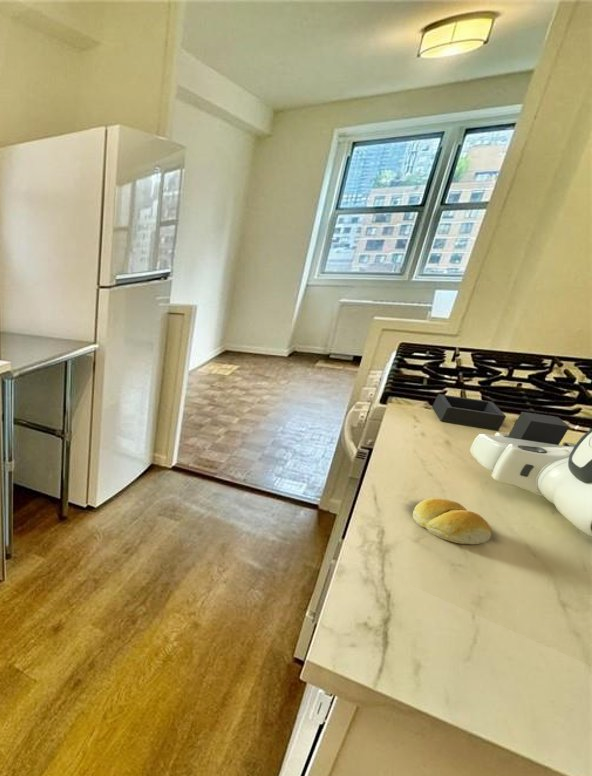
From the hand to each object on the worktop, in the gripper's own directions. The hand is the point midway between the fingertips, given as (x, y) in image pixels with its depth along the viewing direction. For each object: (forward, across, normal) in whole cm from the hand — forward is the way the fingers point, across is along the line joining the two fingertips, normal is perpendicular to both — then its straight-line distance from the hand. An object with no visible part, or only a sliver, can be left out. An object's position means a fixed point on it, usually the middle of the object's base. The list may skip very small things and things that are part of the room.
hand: (532, 441), depth 89 cm
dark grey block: (0, 0, +6) cm, 6 cm away
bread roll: (-31, +18, +6) cm, 36 cm away
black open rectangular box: (+25, +1, +6) cm, 26 cm away
